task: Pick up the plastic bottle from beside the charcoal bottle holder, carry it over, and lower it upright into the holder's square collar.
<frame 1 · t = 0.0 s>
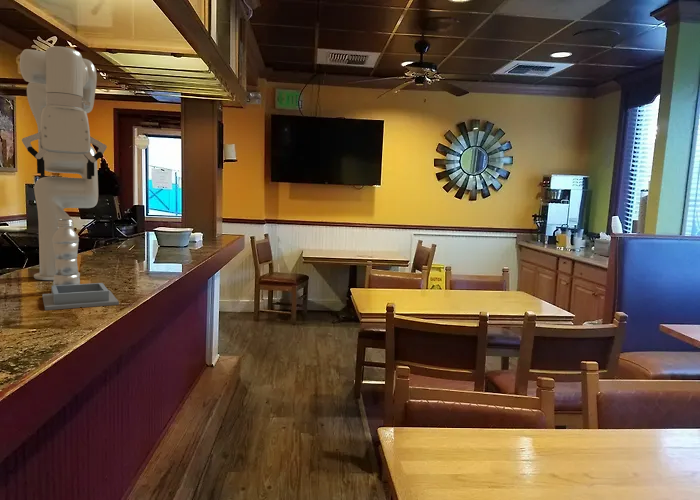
hand: (66, 178, 119), 31 cm above the counter, fingers open, 9 cm apart
bottle holder: (80, 300, 130), on the counter
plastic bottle: (66, 292, 140), on the counter
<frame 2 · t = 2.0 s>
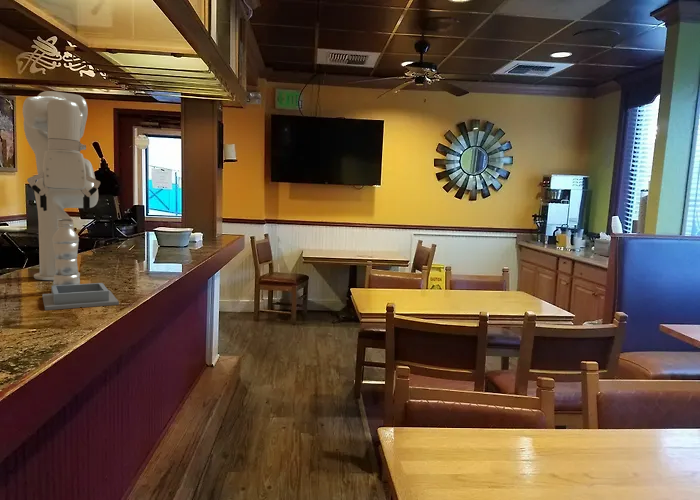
hand: (65, 210, 137), 22 cm above the counter, fingers open, 9 cm apart
nothing on the counter moved.
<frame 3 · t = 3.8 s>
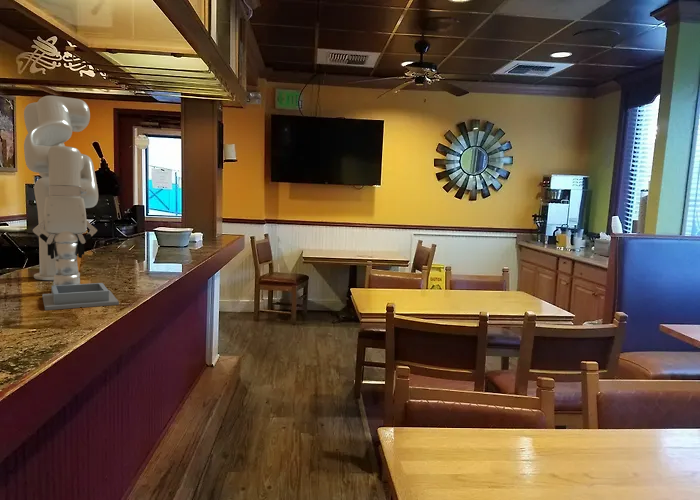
hand: (66, 257, 139), 10 cm above the counter, fingers closed on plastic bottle, 6 cm apart
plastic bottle: (66, 292, 140), on the counter, touching gripper
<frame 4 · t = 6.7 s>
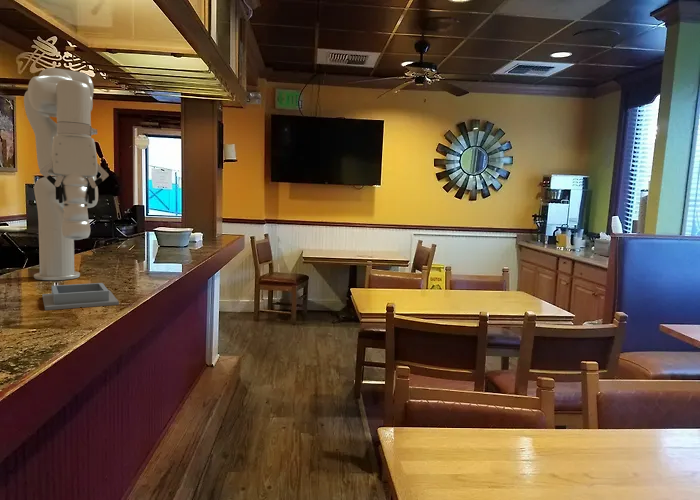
hand: (75, 202, 129), 25 cm above the counter, fingers closed on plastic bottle, 6 cm apart
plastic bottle: (76, 240, 130), point 15 cm above the counter, touching gripper
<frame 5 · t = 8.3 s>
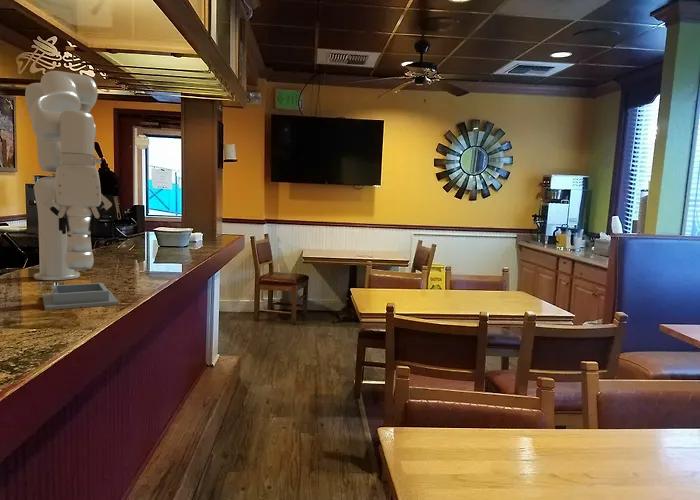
hand: (78, 232, 128), 18 cm above the counter, fingers closed on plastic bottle, 6 cm apart
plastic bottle: (79, 270, 129), point 8 cm above the counter, touching gripper
when the fingers open (12 cm above the counter, at t = 9.9 s): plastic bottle drops 1 cm, resting on bottle holder.
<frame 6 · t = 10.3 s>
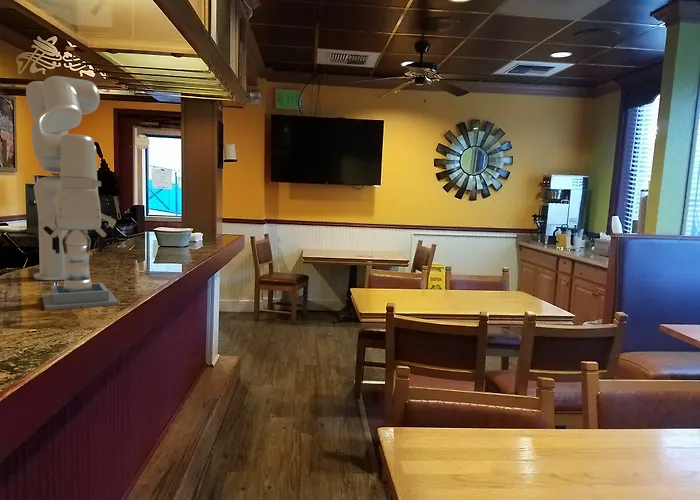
hand: (79, 252, 128), 13 cm above the counter, fingers open, 9 cm apart
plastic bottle: (78, 298, 130), point 1 cm above the counter, touching bottle holder
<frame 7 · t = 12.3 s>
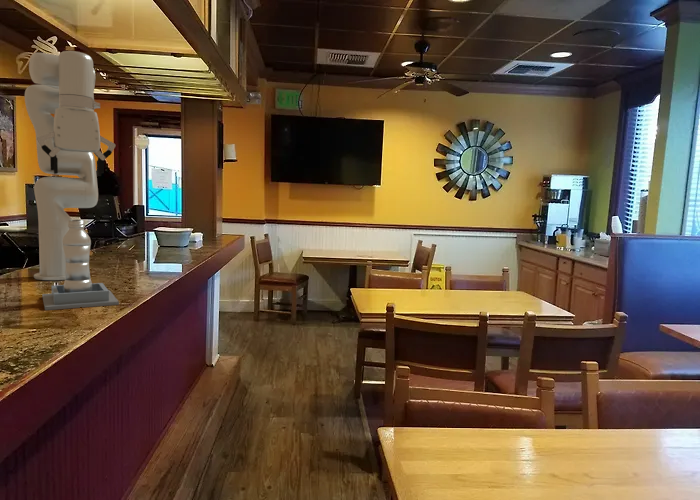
hand: (77, 174, 126), 32 cm above the counter, fingers open, 9 cm apart
nothing on the counter moved.
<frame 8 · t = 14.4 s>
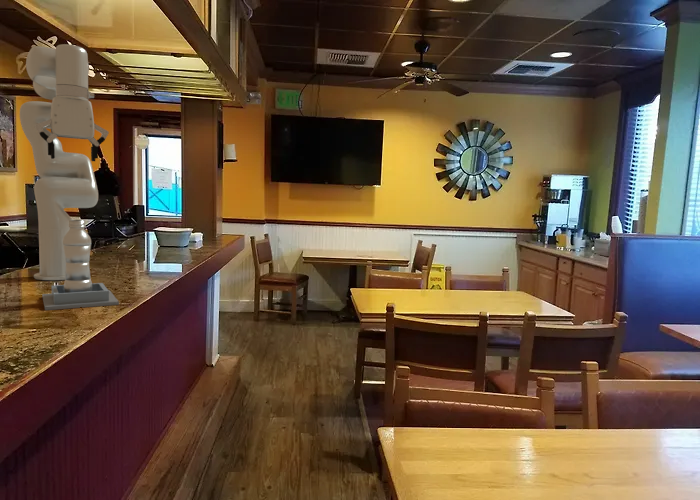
hand: (73, 159, 136), 36 cm above the counter, fingers open, 9 cm apart
nothing on the counter moved.
at the end: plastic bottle 0.5 cm off-centre on the bottle holder, point 0.6 cm above the bottle holder's base; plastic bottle tilted 0°; the gripper is holding nothing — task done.
